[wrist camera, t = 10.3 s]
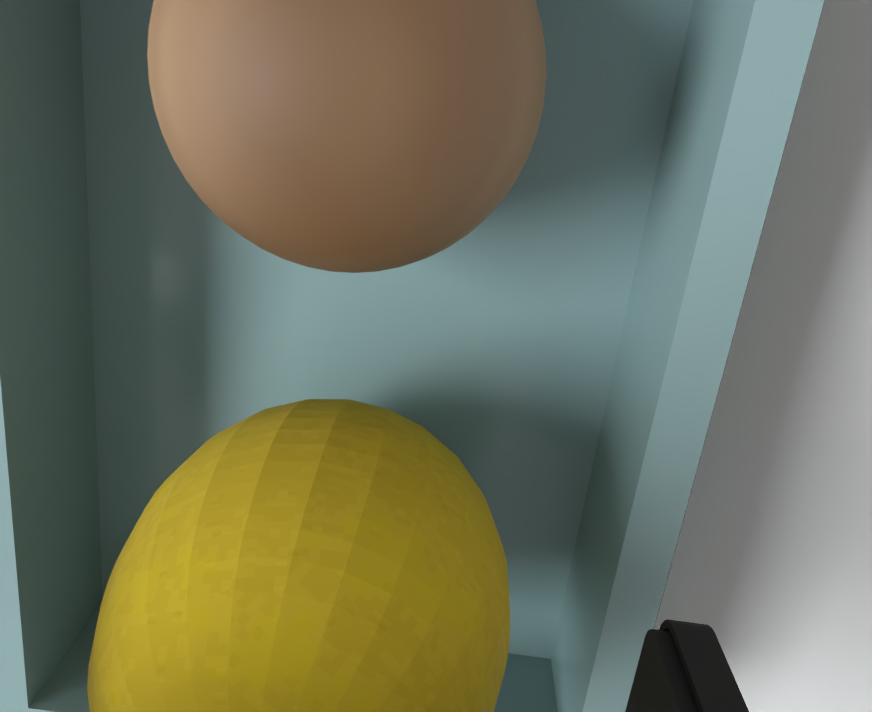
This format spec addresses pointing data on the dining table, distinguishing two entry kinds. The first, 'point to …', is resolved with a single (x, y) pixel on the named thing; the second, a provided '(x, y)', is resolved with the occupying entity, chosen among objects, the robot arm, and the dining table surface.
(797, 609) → the dining table surface
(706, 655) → the robot arm
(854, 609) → the dining table surface
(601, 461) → the trough
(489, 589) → the lemon
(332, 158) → the walnut ball
